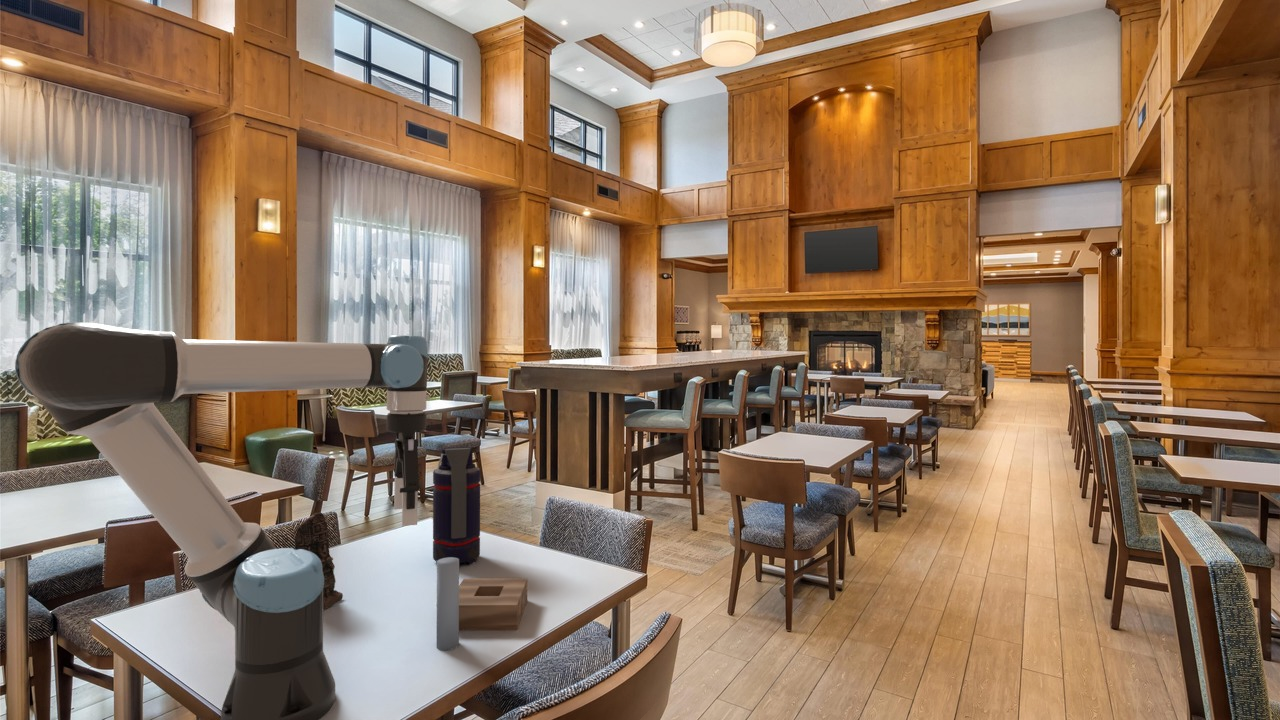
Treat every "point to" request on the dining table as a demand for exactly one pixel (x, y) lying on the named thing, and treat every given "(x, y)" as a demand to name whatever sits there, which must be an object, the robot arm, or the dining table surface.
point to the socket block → (491, 603)
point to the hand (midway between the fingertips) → (405, 516)
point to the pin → (447, 603)
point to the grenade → (456, 506)
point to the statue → (319, 553)
